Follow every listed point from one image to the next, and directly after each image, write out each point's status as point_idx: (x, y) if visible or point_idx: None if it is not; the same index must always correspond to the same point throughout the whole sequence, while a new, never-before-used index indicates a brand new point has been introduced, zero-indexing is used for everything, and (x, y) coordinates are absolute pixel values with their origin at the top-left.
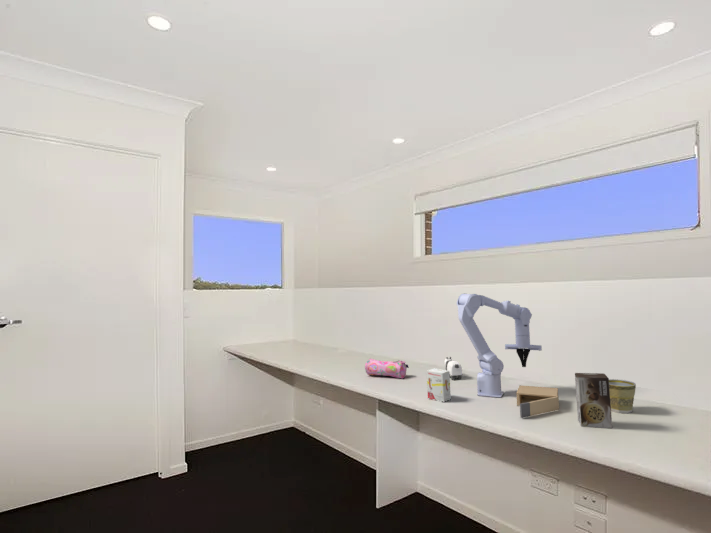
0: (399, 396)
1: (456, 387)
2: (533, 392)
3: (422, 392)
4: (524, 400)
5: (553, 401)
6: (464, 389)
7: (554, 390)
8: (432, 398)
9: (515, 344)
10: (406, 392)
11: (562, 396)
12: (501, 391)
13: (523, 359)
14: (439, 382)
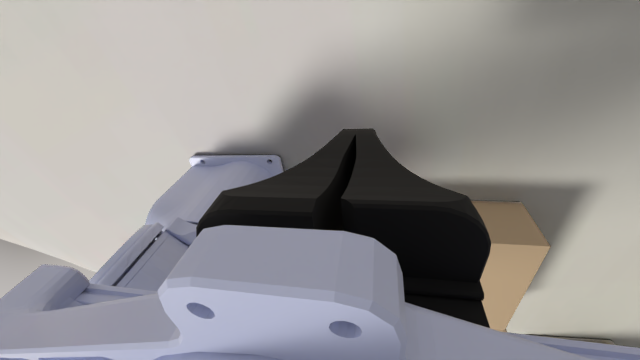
0: (75, 258)
1: (84, 131)
2: None
3: (74, 219)
4: None
5: None
6: (128, 149)
7: (516, 279)
8: None
9: (85, 350)
10: (49, 228)
11: (576, 119)
12: (269, 158)
13: (346, 174)
14: None
